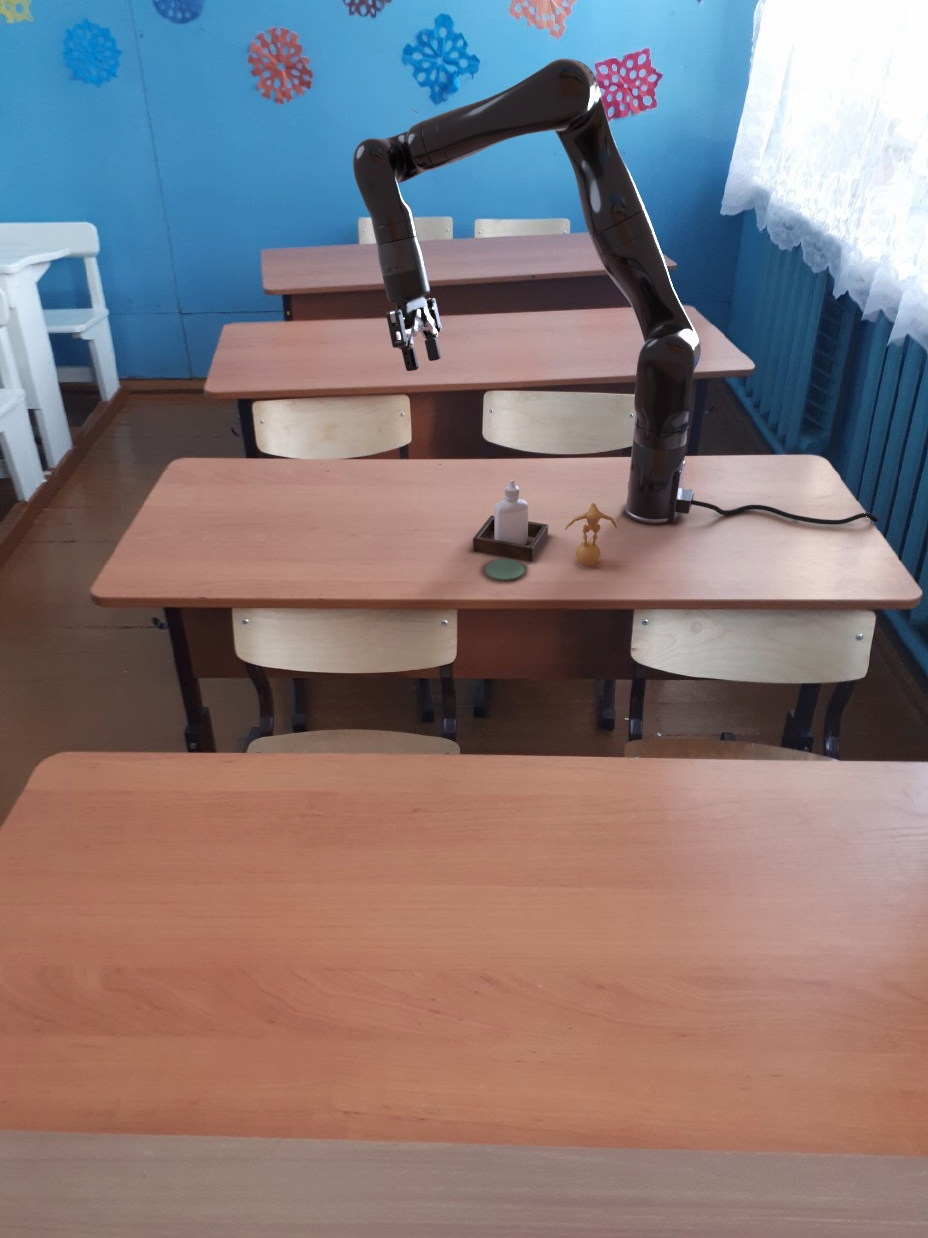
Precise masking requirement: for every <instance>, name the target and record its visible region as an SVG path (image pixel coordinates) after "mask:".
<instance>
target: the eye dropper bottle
mask: <svg viewBox="0 0 928 1238" xmlns="http://www.w3.org/2000/svg"><path fill="white" fill-rule="evenodd" d="M494 516H495V530H494V538H493V539H494V540H499V541H505V542H511V543H517V544H523V545H527V543H528V537H529V536H528V521H529V503H528V502H527V501H526V500H525V499H523V498H520V487H519V486H518V485H516V482H515V480H514V479H510V480H509V483H508V485H506V486H505V487H504V499H502V500H500V501H498V502H497V503H496V504H495V506H494Z"/></svg>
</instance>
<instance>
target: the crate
mask: <svg viewBox="0 0 928 1238" xmlns="http://www.w3.org/2000/svg"><path fill="white" fill-rule="evenodd" d="M494 531H495V515H490V516H489V517H488V518H487V520H486V521H485V522H484V524H483V525H482V526H481V527H480V529H479V530H478V531H477V532H476V534H475V535H474V536H473V538H472V550H473V552H478V553H482V554H487V555H488V554H489V555H494V556H498V557H499V556H500V557H505V558H510V559H517V560H522V561H528V562H533V561H534V559H535V558H536V556H537V555H538V553H539V552H540V550H541V548H542V547H543V545H544V544H545V542H546V541H547V539H548V537H549V535H548V534H549V524H547V523H541V522H536V521H529V520H528V537H531V538H533V539H532V541H531V543H530V544H529V545H528V544H525V545H523V544H517V543H511V542H505V541H499V540H494V538H489V537H490V536H491V534H492V533H493V532H494Z"/></svg>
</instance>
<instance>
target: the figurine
mask: <svg viewBox="0 0 928 1238" xmlns="http://www.w3.org/2000/svg"><path fill="white" fill-rule="evenodd" d="M584 519H586V523H587V524H583V525H582V526H583V529H582V533H583V536H582V539H583V540H584V541H582V542H581V543H580V544H579V545H578V546H577V547H576V549H575V557H576V560H577V562H578V563H580V564H581V565H583V566H585V567H586V566H587V567H588V566H592V565H595V564H597V562H598V561H599V559H600V557H601V550H600V547H599V546H598V544H596V542H597V539H598V533H599V532H600V530H601V524H599V522H600V520H601V519H604V520H608V521H610V522H611V524H612V525H613V527H614V528H615V529H618V525H617V523H616V522H615V519H614V518H613V517H611V516H609V515H608V514H605V513H603V512H601V511H600V510H599V509H598V507H597V505H596V504H595V503H594V502H593V503H591V504H590V507H589V509H588V511H587V512H585V513H583V514H582V515H578V516H577V517H574V518H573V519H572V520H571V521H570V522H569V523H568V524H567V525H566V527H565V529H564V530H565V531H566V530H567V529H568V528H569V527H570V526H572V525H573V524H574V523H575V522H578V521H580V520H584ZM590 531H592V532H593V536H592V538H593V540H592V541H589V540H588V535H587V533H589V532H590Z"/></svg>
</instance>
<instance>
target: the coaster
mask: <svg viewBox="0 0 928 1238" xmlns="http://www.w3.org/2000/svg"><path fill="white" fill-rule="evenodd" d="M485 574H486V576H488V577H489V578H490V579H493V580H495V581H503V582H508V581H509V582H511V581H514V580H518V579H519V578H521V577H522V576H523V575H524V574H525V566H524V565H523V563H521V562H520V561H517V560H515V559H508V558H501V559H496V560H492V561H491V562H488V564H487V565H485Z"/></svg>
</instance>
